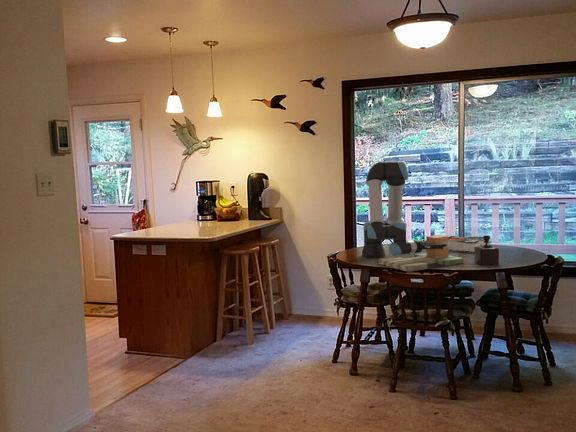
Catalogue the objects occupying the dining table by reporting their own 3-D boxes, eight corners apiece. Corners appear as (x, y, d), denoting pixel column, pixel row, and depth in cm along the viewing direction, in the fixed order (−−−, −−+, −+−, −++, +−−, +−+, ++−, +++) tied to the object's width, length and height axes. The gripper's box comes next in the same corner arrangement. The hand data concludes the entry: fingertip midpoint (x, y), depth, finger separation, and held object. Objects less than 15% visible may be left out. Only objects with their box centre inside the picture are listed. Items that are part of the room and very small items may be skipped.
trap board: (378, 264, 333) (378, 259, 333) (431, 256, 350) (431, 251, 350) (408, 271, 308) (408, 266, 307) (463, 263, 325) (463, 258, 325)
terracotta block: (426, 256, 336) (426, 236, 334) (439, 254, 340) (439, 234, 339) (435, 258, 328) (435, 237, 327) (448, 256, 333) (448, 236, 332)
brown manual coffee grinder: (472, 262, 326) (472, 232, 324) (490, 261, 327) (490, 230, 325) (484, 267, 311) (484, 235, 309) (503, 266, 312) (503, 234, 310)
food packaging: (440, 239, 370) (454, 235, 387) (440, 250, 371) (454, 245, 388) (477, 241, 354) (490, 237, 371) (477, 253, 355) (490, 248, 372)
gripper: (400, 250, 337) (428, 246, 346) (427, 256, 315) (456, 251, 324) (400, 238, 336) (427, 234, 346) (427, 243, 314) (456, 239, 323)
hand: (441, 243), depth 335 cm, fingers open, 13 cm apart
